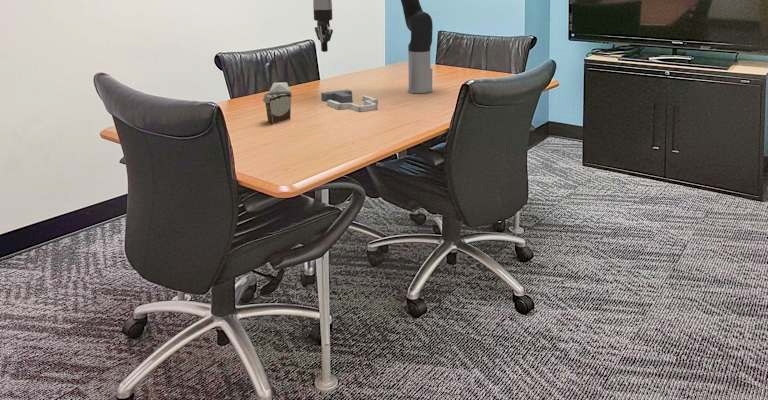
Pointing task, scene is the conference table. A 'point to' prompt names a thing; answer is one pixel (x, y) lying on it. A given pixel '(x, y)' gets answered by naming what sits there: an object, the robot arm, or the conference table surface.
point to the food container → (278, 106)
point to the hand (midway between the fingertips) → (324, 51)
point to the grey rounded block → (280, 87)
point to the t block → (338, 96)
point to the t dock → (368, 105)
